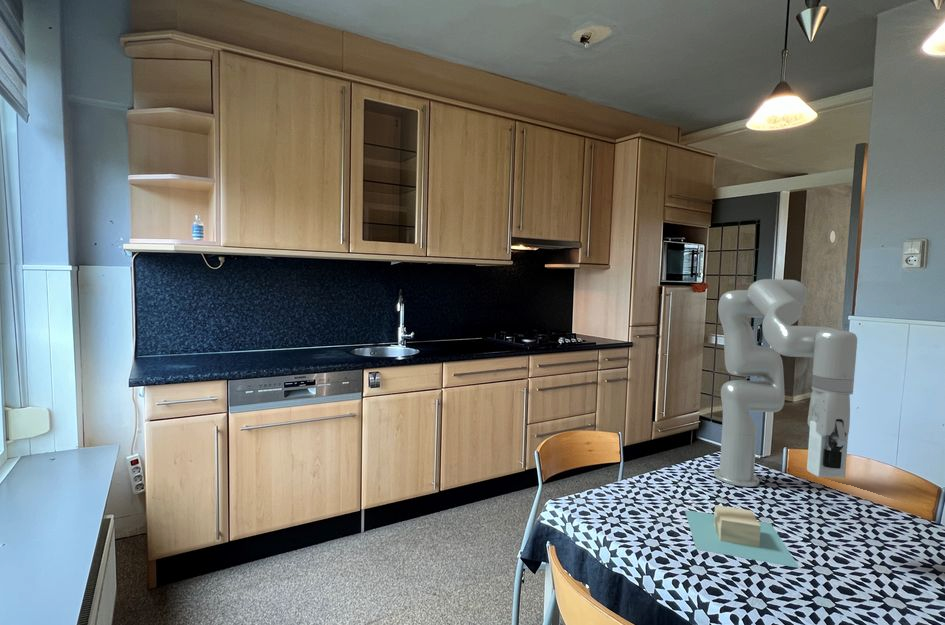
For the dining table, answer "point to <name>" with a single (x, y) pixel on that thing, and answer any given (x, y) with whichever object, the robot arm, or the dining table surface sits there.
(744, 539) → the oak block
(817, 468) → the skincare box
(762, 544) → the base board
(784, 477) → the dining table surface
